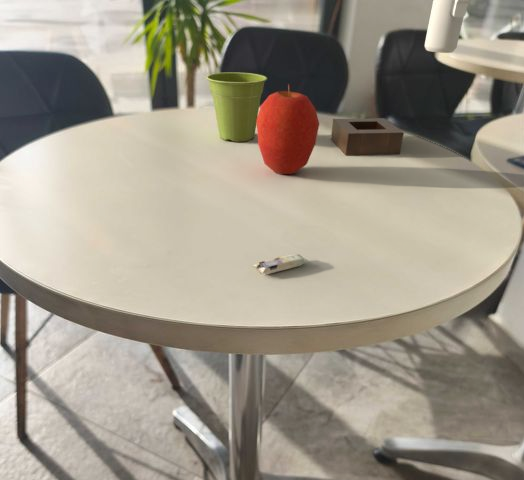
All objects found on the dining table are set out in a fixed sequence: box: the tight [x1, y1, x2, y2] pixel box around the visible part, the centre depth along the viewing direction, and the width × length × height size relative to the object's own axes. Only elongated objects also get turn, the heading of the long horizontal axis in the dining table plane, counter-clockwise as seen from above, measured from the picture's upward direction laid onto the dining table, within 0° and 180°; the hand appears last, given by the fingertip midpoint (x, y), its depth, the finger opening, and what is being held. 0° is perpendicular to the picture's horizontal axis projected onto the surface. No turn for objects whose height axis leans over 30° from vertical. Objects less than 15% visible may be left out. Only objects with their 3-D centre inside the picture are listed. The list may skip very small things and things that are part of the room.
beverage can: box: [424, 0, 465, 54], centre depth 73 cm, size 5×5×12 cm
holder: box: [330, 117, 405, 156], centre depth 99 cm, size 11×11×4 cm
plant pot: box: [205, 71, 268, 143], centre depth 99 cm, size 12×12×11 cm
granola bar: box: [251, 253, 310, 275], centre depth 59 cm, size 7×2×1 cm, turn 119°
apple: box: [256, 84, 320, 175], centre depth 82 cm, size 10×10×14 cm
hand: (447, 15), depth 74 cm, fingers closed on beverage can, 5 cm apart
